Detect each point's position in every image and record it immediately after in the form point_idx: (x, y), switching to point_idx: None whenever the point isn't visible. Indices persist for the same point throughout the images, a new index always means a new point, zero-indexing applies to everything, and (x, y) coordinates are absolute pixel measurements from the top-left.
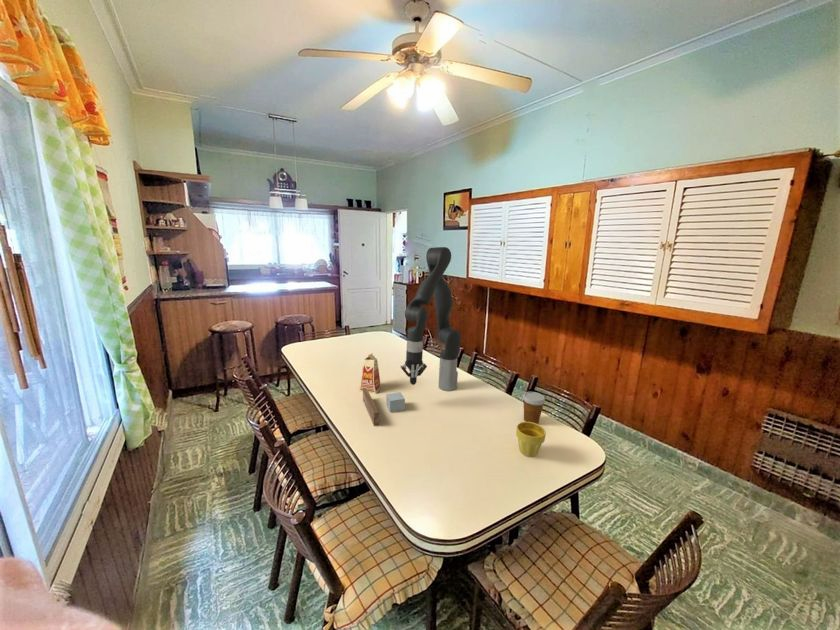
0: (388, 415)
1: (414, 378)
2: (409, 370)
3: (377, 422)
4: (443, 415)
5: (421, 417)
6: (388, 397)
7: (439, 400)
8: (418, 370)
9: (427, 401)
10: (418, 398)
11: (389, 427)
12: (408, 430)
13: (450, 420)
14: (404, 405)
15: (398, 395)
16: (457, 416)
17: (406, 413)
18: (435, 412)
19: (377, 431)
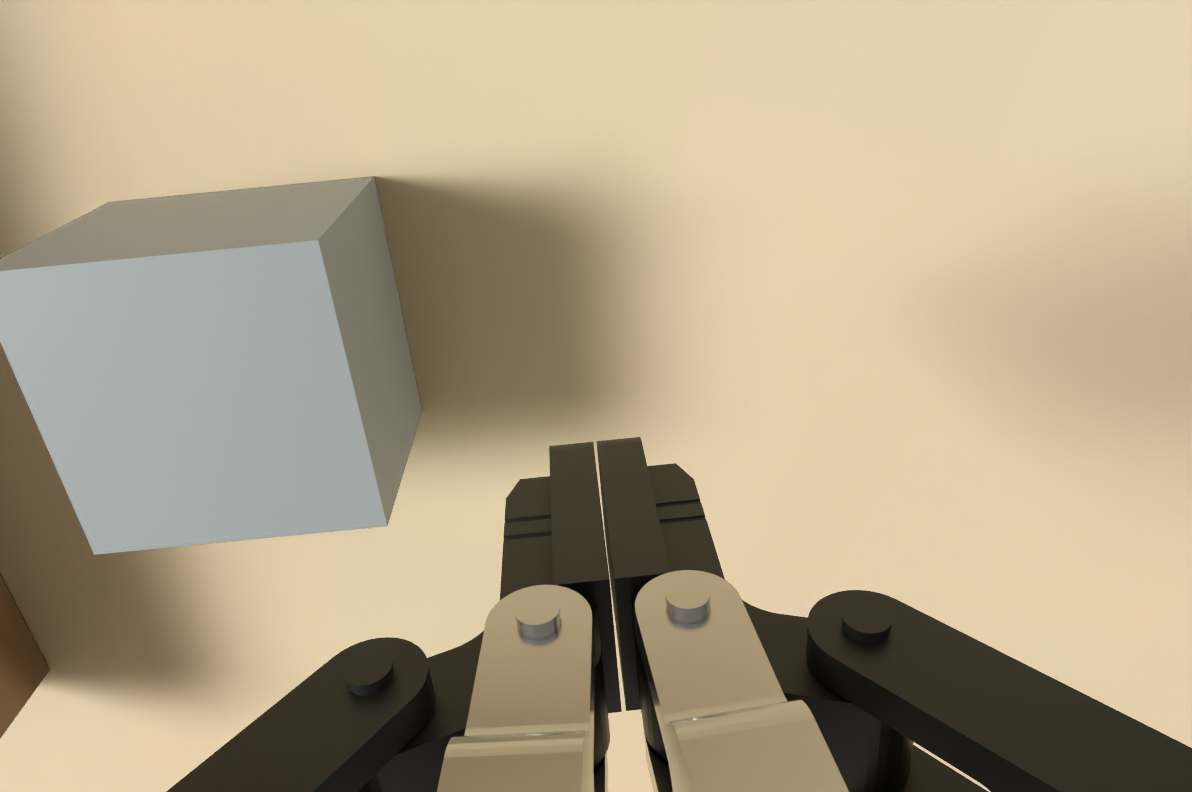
0: None
1: (634, 688)
2: (452, 782)
3: (16, 700)
4: (911, 606)
5: None
6: (44, 431)
7: (1094, 212)
8: (925, 728)
9: (877, 206)
10: (761, 52)
11: (193, 720)
12: None
13: None
14: (404, 455)
15: (264, 383)
16: (1061, 647)
17: (437, 491)
18: (846, 531)
19: (57, 761)
